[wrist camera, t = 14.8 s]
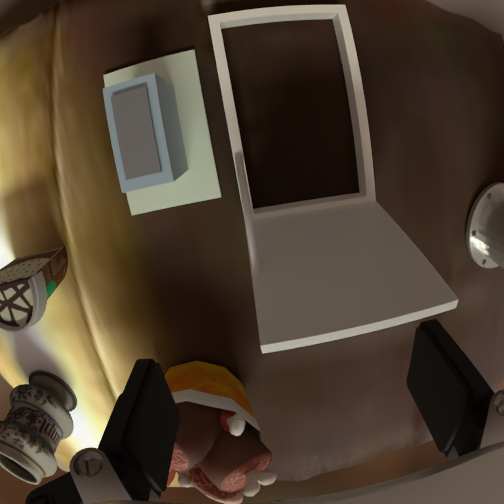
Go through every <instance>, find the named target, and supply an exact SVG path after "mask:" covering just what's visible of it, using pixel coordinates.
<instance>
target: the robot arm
mask: <svg viewBox="0 0 504 504" xmlns="http://www.w3.org/2000/svg"><path fill="white" fill-rule="evenodd" d="M466 243H467V249H468V251H469V254H470V256H471V258H472V259H473V260H474V261H475V262H476V263H477V264H478V265H480V266H481V267H484V268H494V267H497V266H501V267H502V268H504V183H502V182H497V183H493V184H491V185H489V186H488V187H486V188H485V189H484V190H483V191H482V192H481V193H480V194H479V196H478V197H477V199H476V200H475V202H474V204H473V206H472V208H471V211H470V214H469V217H468V221H467V227H466ZM407 386H408V389H409V391H410V393H411V395H412V397H413V399H414V401H415V403H416V405H417V407H418V409H419V411H420V413H421V415H422V417H423V419H424V421H425V423H426V425H427V427H428V429H429V431H430V433H431V435H432V437H433V439H434V441H435V443H436V446H437V448H438V450H439V451H440V452H444V454H445V456H446V458H448V457H451V456H453V455H455V454H458V455H459V457H457V458H455V459H452V460H450V461H447V462H444V463H442V464H439V465H436V466H433V467H431V468H428V469H425V470H422V471H419V472H416V473H413V474H410V475H406V476H403V477H400V478H396V479H393V480H390V481H386V482H382V483H379V484H375V485H371V486H366V487H362V488H358V489H353V490H348V491H344V492H339V493H333V494H328V495H322V496H316V497H309V498H302V499H294V500H285V501H275V502H263V503H246V504H504V390H499V391H498V392H496V393H494V392H493V390H492V389H491V388H490V386H489V385H488V384H487V382H486V381H485V380H484V378H483V377H482V376H481V374H480V373H479V372H478V370H477V369H476V368H475V366H474V365H473V364H472V362H471V361H470V360H469V358H468V357H467V356H466V355H465V353H464V352H463V351H462V350H461V349H460V347H459V346H458V345H457V344H456V342H455V341H454V340H453V339H452V337H451V336H450V335H449V334H448V333H447V331H446V330H445V329H444V328H443V327H442V325H441V324H440V323H439V322H438V321H437V320H436V319H433V320H429V321H425V322H422V323H421V324H420V327H417V329H416V333H415V340H414V345H413V351H412V357H411V362H410V367H409V372H408V376H407ZM179 420H180V413H179V410H178V407H177V405H176V403H175V401H174V398H173V396H172V394H171V391H170V389H169V386H168V384H167V381H166V379H165V377H164V374H163V372H162V369H161V366H160V364H159V363H155V361H154V360H153V359H138V360H137V361H136V363H135V365H134V367H133V370H132V372H131V374H130V377H129V379H128V381H127V384H126V386H125V389H124V391H123V393H122V394H121V395H120V396H119V397H118V399H117V402H116V404H115V406H114V409H113V411H112V414H111V416H110V419H109V421H108V424H107V426H106V429H105V431H104V434H103V436H102V439H101V441H100V444H99V447H98V449H97V448H85V449H82V450H80V451H79V452H77V453H76V454H75V455H74V456H73V457H72V459H71V461H70V466H69V468H70V472H68V473H66V474H64V475H62V476H61V477H59V478H57V479H55V480H53V481H51V482H49V483H47V484H45V485H43V486H41V487H38V488H36V489H35V490H33V491H31V492H30V494H29V495H28V496H27V499H26V504H181V503H165V502H151V501H148V499H149V497H151V498H160V496H161V491H165V490H166V486H167V481H168V476H169V471H170V465H171V460H172V455H173V450H174V445H175V440H176V435H177V430H178V425H179ZM182 504H184V503H182Z"/></svg>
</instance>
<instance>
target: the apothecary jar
mask: <svg viewBox="0 0 504 504" xmlns="http://www.w3.org/2000/svg"><path fill="white" fill-rule="evenodd" d="M10 403H11V409H10V411H9V413H8V415H7V417H6V418H5V420H4V421H0V465H1V466H2V467H3V468H4V469H6V470H7V471H8V472H10V473H11V474H13V475H14V476H16V477H18V478H19V479H21V480H24V481H26V482H28V483H31V484H39V483H40V481H41V479H42V478H43V477H48V476H51V475H53V474H54V473H55V472H56V470H57V462H56V459H55V457H54V453H55V451H56V448H57V446H58V444H59V442H60V440H62V439H65V438H67V437H69V436H70V435H71V433H72V431H73V420H72V418H71V415H70V413H69V411H72V410H74V409H75V407H76V405H77V399H76V396H75V394H74V392H73V391H72V389H71V388H70V387H69V386H68V385H67V384H66V383H65V382H64V381H63V380H61V379H60V378H58V377H57V376H55V375H53V374H51V373H49V372H45V371H34V372H32V373H31V374H30V376H29V385H28V384H24V385H19V386H17V387H15V388H14V389H13V390H12V392H11V395H10Z"/></svg>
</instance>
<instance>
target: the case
mask: <svg viewBox="0 0 504 504" xmlns="http://www.w3.org/2000/svg"><path fill="white" fill-rule="evenodd" d="M309 19H333V24H334V28H335V32H336V37H337V41H338V46H339V51H340V56H341V61H342V66H343V71H344V77H345V83H346V88H347V94H348V100H349V107H350V114H351V120H352V128H353V135H354V143H355V152H356V161H357V170H358V181H359V192H360V193H353V194H346V195H339V196H332V197H325V198H319V199H312V200H306V201H299V202H293V203H287V204H280V205H274V206H268V207H262V208H257V209H253V207H252V201H251V195H250V190H249V184H248V178H247V172H246V167H245V161H244V155H243V150H242V144H241V138H240V133H239V127H238V121H237V116H236V110H235V105H234V99H233V93H232V88H231V82H230V77H229V71H228V66H227V60H226V55H225V49H224V44H223V39H222V33H221V29H223V28H229V27H236V26H242V25H250V24H258V23H267V22H278V21H290V20H309ZM208 20H209V25H210V31H211V36H212V42H213V48H214V53H215V59H216V64H217V70H218V75H219V81H220V87H221V92H222V98H223V103H224V109H225V114H226V120H227V125H228V131H229V137H230V142H231V148H232V153H233V159H234V164H235V170H236V175H237V181H238V186H239V192H240V197H241V203H242V208H243V214H244V219H245V226H246V234H247V242H248V250H249V258H250V266H251V274H252V282H253V290H254V298H255V306H256V314H257V322H258V330H259V338H260V346H261V350H262V354H263V353H269V352H275V351H281V350H286V349H292V348H297V347H303V346H308V345H313V344H318V343H323V342H328V341H332V340H337V339H342V338H346V337H351V336H355V335H359V334H363V333H368V332H372V331H376V330H380V329H384V328H388V327H392V326H395V325H399V324H403V323H407V322H410V321H414V320H417V319H421V318H424V317H428V316H431V315H435V314H438V313H441V312H444V311H448V310H451V309H454V308H456V306H457V303H458V298H457V297H456V296H455V294H454V293H453V292H452V290H451V289H450V288H449V286H448V285H447V284H446V282H445V281H444V280H443V279H442V277H441V276H440V275H439V274H438V272H437V271H436V270H435V268H434V267H433V266H432V265H431V264H430V262H429V261H428V260H427V259H426V257H425V256H424V255H423V254H422V253H421V251H420V250H419V249H418V248H417V247H416V245H415V244H414V243H413V242H412V241H411V240H410V238H409V237H408V236H407V235H406V234H405V233H404V231H403V230H402V229H401V228H400V227H399V226H398V225H397V224H396V222H395V221H394V220H393V219H392V218H391V217H390V216H389V215H388V214H387V212H386V211H385V210H384V209H383V208H382V207H381V206H380V205H379V204H378V203H377V202H376V199H375V185H374V172H373V162H372V152H371V143H370V134H369V126H368V119H367V112H366V105H365V98H364V92H363V86H362V80H361V75H360V69H359V64H358V59H357V54H356V49H355V44H354V40H353V35H352V31H351V26H350V22H349V18H348V14H347V10H346V6H345V5H296V6H280V7H268V8H258V9H250V10H242V11H235V12H228V13H222V14H216V15H211V16H208Z"/></svg>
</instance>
